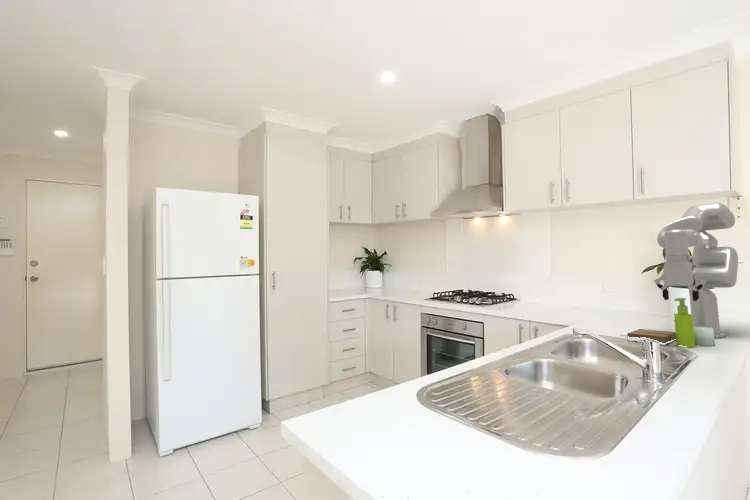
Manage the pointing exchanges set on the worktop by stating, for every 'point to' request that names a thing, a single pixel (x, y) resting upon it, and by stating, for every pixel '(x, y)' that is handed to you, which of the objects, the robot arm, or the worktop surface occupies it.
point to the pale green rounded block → (704, 336)
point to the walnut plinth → (654, 335)
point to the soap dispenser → (684, 325)
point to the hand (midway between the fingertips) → (680, 300)
